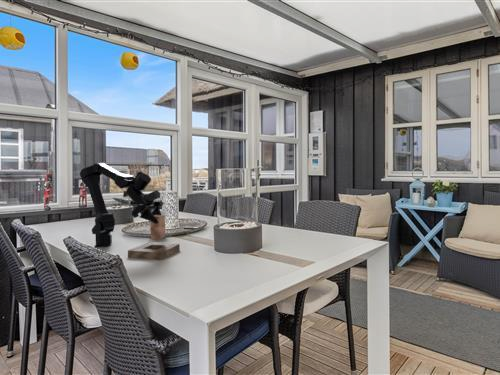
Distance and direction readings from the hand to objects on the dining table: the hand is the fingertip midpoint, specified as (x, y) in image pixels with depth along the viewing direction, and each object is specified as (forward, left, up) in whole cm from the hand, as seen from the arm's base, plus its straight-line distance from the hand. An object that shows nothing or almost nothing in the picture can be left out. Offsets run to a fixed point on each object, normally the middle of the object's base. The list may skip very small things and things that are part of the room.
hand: (160, 222), depth 153 cm
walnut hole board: (-3, -3, -14) cm, 14 cm away
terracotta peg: (-1, +1, -7) cm, 7 cm away
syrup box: (-5, +36, -14) cm, 39 cm away
